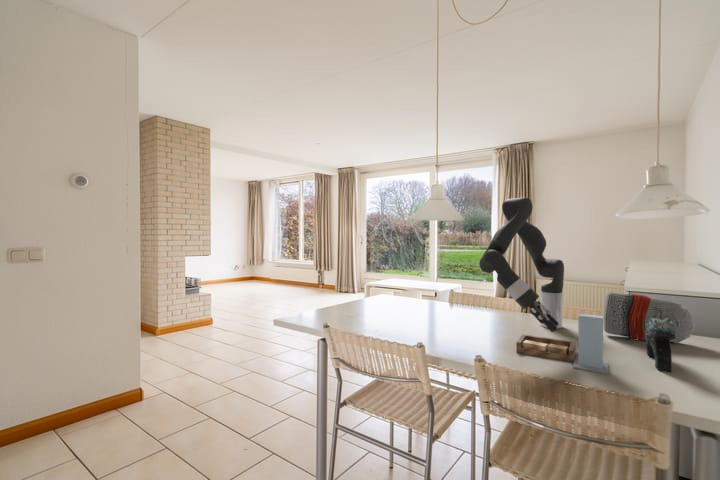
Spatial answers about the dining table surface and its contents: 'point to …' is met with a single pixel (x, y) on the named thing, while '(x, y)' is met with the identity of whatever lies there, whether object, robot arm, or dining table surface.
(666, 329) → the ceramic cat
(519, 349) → the rack
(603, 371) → the mat
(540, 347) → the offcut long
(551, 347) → the offcut short
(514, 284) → the robot arm
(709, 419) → the dining table surface
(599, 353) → the pale blue tall prism
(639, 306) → the grey red knit hat
